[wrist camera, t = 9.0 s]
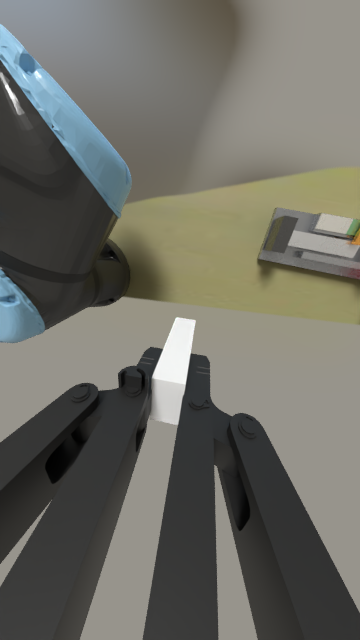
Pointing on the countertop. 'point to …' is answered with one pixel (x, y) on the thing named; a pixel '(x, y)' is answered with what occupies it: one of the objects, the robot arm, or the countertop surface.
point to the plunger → (308, 240)
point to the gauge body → (311, 259)
